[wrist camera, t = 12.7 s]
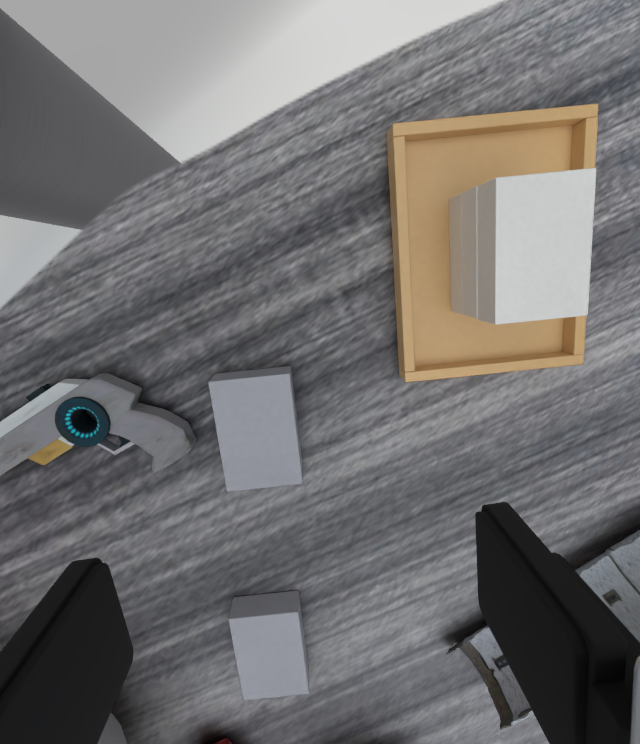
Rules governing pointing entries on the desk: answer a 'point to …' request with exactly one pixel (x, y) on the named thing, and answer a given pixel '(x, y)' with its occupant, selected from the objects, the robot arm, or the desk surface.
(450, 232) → the light grey flat block
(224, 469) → the grey rectangular slab
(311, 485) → the desk surface
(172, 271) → the desk surface
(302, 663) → the grey rectangular block
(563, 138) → the tray
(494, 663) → the model building
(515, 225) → the white book
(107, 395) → the toy gun
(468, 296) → the white book
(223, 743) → the decorative stone
